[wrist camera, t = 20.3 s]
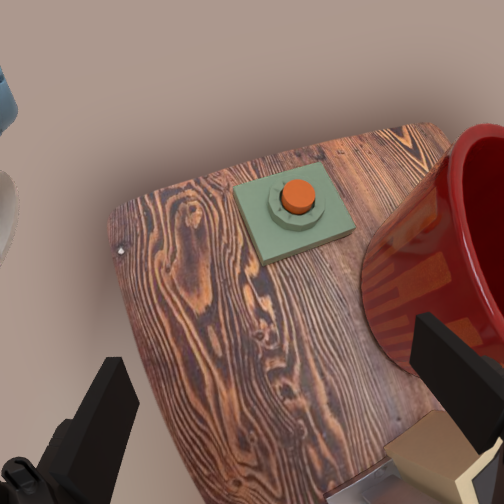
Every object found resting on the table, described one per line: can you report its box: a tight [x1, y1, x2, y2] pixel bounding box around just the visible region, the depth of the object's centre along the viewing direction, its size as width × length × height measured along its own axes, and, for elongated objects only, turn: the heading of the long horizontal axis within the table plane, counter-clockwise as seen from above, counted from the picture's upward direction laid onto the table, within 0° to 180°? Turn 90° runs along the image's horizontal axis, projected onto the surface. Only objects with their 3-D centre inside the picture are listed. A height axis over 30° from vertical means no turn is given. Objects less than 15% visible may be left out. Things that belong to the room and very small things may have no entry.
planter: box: [361, 123, 504, 376], centre depth 27 cm, size 23×23×20 cm
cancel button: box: [281, 179, 315, 214], centre depth 35 cm, size 4×4×2 cm
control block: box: [233, 162, 356, 266], centre depth 37 cm, size 12×10×4 cm
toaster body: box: [384, 410, 503, 504], centre depth 21 cm, size 8×12×15 cm, turn 27°
